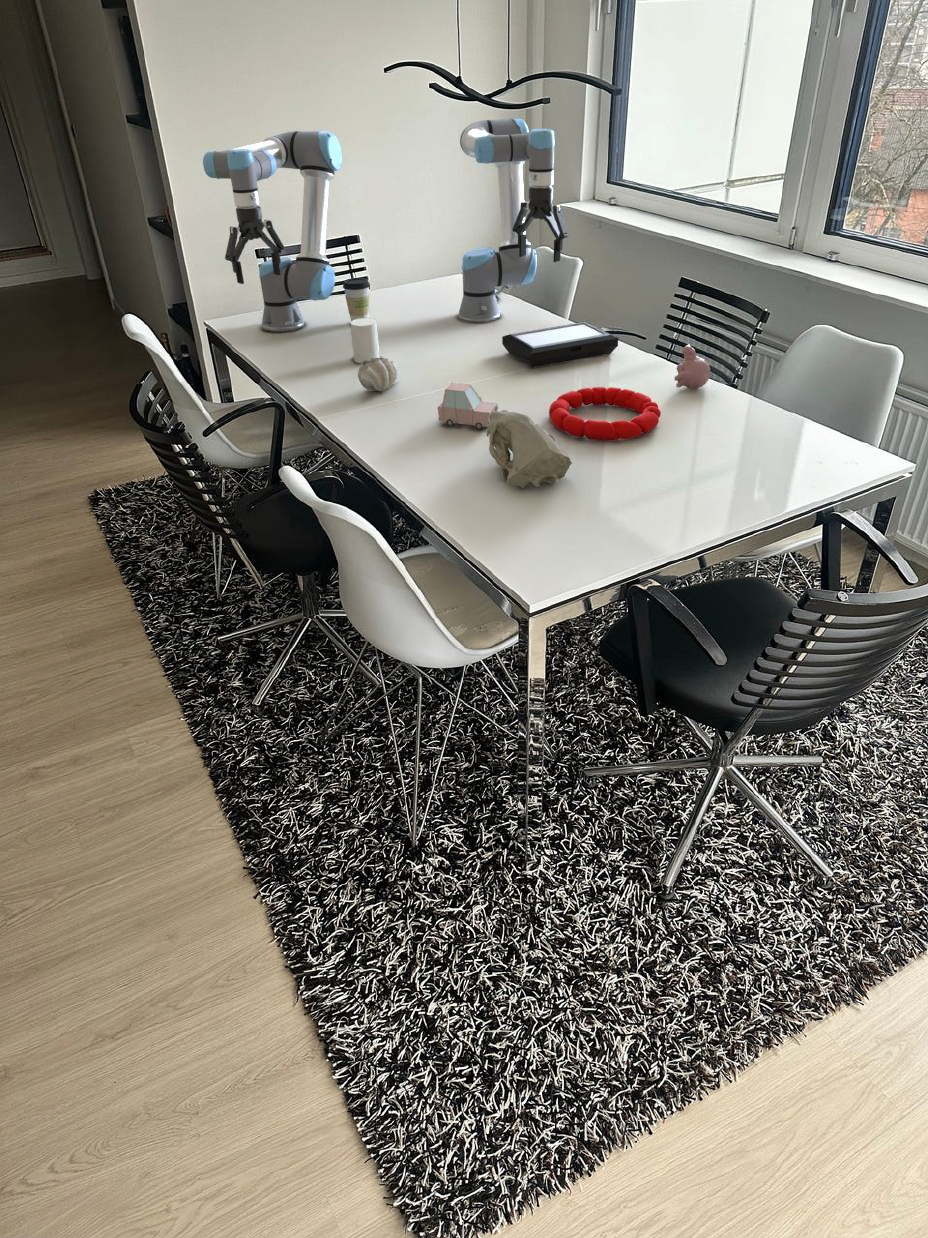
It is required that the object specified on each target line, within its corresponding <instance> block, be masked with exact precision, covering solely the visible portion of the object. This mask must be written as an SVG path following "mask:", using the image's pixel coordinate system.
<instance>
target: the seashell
mask: <svg viewBox="0 0 928 1238" xmlns="http://www.w3.org/2000/svg"><path fill="white" fill-rule="evenodd" d="M357 377H358V381H359V382H360V385H361V386H362V387H363V388H364V389H366V391H368V392H375V391H379V392H385V391H388V390H390V388H391V387H392V386H393V385H394V384H395V382H396V380H397V379H398V367H397V365H396V363H395V361H393V360H389V358H383V357H380V358H371V359H370V361H367V360H366V361H363V362H362V363H360V366H359V367H358V373H357Z"/></svg>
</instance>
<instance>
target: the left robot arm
mask: <svg viewBox="0 0 928 1238" xmlns="http://www.w3.org/2000/svg"><path fill="white" fill-rule="evenodd" d="M342 163H343V153H342V148H341V144H340V141H339V139H338V138H337V136H336V134H334V133H333V132H330V131H323V130H312V131H311V130H310V131H307V130H306V131H305V130H303V131H301V130H299V131H298V130H292V131H286V132H282V133H279V134H275V135H272V136H267V137H266V138H264V139H263V141H261V142H257V143H254V144H253V143H252V144H248V145H243V146H240V147H239V146H238V147H235V148H230V149H226V150H221V151H220V150H219V151H217V150H213V151H207V152H206V153H205V154H204V155H203V158H202V166H203V171H204V173H205V174H206V176H207V177H208V178H211V179H217V180H221V179H222V180H223V179H225V180H226V179H227V180H228V179H229V180H230V183H231V189H232V194H233V202H234V206H235V207H236V208H235V213H236V220H237V222H238V226H229V237H228V242H227V245H226V246H227V247H226V251H225V254H224V255H225V256H224V259H225V261H227V262H231V267H232V272H233V273H234V274H235V277H236V282H237V284H240V285H244V284H245V280H244V274H243V269H242V262H241V261H239V259H240V257H241V255H242V253H243V251H244V250H245V246H246V245H247V244H248V242H249V241H253V240H254V239H255V240H258V239H261V240H262V241H263V243H264V244H265V245H266V246H267V247H268V248H269V249H270V250H271V251H272V252H270V256H271V259H269V260H266V261H263V262H261V263H260V265H259V266H258V273H259V274H258V275H259V281H260V287H261V292H262V293H261V294H262V299H263V313H262V319H261V326H262V330H264V331H265V332H271V333H286V332H293V331H296V330H297V331H298V330H300V329H302V328H304V326H305V319H304V317H303V314H302V312H301V310H300V307H299V306H298V305H299V304H298V303H297V299H298V300H309V301H310V300H311V301H314V302H315V301H325V300H327V299H329V298H330V296H331V295H332V294H333V291H334V288H335V286H336V285H335V284H336V274H335V269H334V268H333V266H331V265H330V259H329V258H328V257H327V255H326V252H327V235H328V217H329V216H328V215H329V201H330V199H329V197H330V196H329V195H330V182H331V181H332V180H333V179H335V174H336V173H335V172H336V171H339V170H340V169H341V167H342ZM277 169H292V170H299V171H300V172H299V173H300V175H301V176H302V178H303V196H302V197H303V198H302V216H301V217H302V218H301V236H300V237H301V238H300V239H301V240H300V253H299V254H298V255H296V257H295V263H292V262H293V260H292V259H291V258H290V257H281V253H282V251H283V250H285V245H284V244H283V242H282V241H281V239H280V237H279V235H278V233H277V232H276V230H275V229H274V225H273V222H272V220H270V219H264V221H263V215H262V214H263V213H262V208H261V206H260V204H261V201H260V194H259V188H258V182H259V181H262V180H266V179H269V178H270V177H272V176H274V175H275V173H276V172H277ZM264 228H265V229H266V231H267V233H268V235H269V236H270V238H271V239H270V238H269V237H268V235H267V234H266V233H265V232H264V231H263V230H264ZM239 233H240V234H239ZM238 235H239V236H238Z"/></svg>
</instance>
